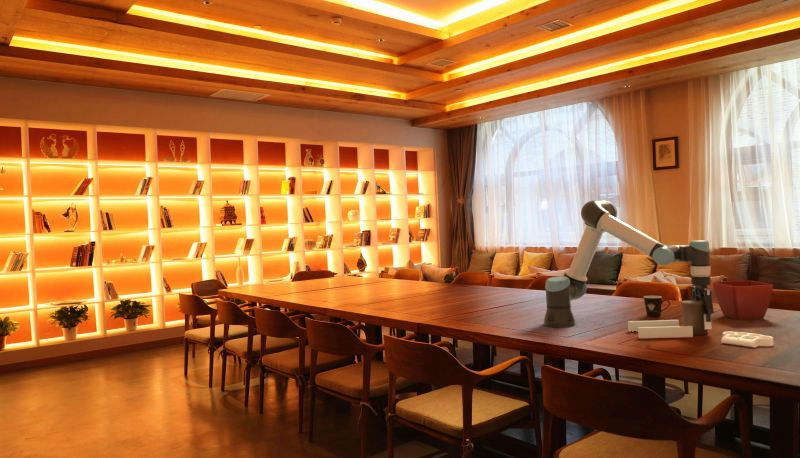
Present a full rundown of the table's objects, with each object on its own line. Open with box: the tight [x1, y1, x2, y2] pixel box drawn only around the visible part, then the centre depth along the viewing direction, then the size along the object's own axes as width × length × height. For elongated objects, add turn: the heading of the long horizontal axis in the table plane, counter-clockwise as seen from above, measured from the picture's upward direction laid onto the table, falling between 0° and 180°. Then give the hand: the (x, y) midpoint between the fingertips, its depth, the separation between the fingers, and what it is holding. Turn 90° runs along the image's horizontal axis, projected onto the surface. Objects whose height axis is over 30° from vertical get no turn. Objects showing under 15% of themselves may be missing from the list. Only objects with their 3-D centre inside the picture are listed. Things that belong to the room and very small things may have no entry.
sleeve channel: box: [627, 319, 694, 339], centre depth 244 cm, size 22×15×4 cm
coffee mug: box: [643, 295, 671, 318], centre depth 283 cm, size 12×9×10 cm
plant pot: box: [712, 280, 774, 321], centre depth 270 cm, size 19×19×17 cm
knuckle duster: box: [720, 330, 774, 349], centre depth 221 cm, size 3×18×15 cm
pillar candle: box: [681, 299, 709, 336], centre depth 242 cm, size 10×10×15 cm
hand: (702, 326), depth 242 cm, fingers closed on pillar candle, 9 cm apart
